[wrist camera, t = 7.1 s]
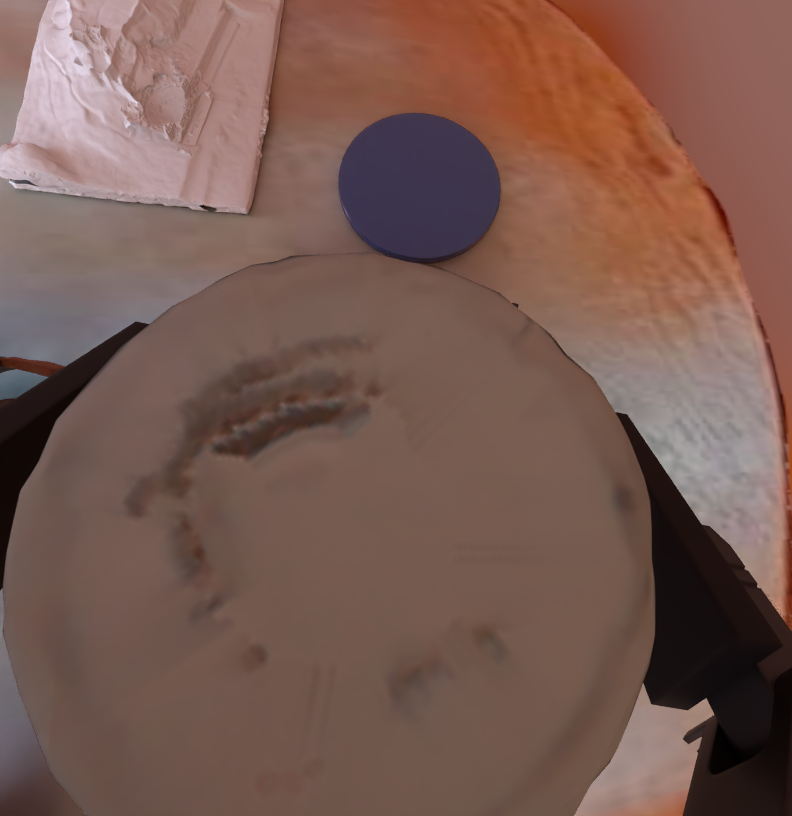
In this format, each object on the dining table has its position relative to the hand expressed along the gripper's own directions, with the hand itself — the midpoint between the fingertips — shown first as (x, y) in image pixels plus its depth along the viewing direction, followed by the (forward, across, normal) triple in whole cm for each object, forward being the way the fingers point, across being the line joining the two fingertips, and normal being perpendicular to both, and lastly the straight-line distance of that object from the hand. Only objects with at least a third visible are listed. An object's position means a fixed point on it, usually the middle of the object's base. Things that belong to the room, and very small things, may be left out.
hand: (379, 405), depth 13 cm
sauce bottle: (+6, 0, -9) cm, 10 cm away
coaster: (+18, 0, +4) cm, 19 cm away
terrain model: (+23, -18, +8) cm, 30 cm away
